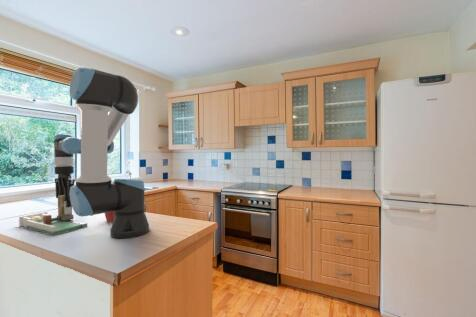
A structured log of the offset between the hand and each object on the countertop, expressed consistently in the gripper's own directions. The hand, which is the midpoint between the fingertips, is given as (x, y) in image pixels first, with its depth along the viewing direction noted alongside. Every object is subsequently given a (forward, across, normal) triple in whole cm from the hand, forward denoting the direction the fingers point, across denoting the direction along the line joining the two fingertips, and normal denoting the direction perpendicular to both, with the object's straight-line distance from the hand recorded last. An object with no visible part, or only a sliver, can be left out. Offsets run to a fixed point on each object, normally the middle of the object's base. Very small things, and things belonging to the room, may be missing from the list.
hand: (65, 213), depth 117 cm
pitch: (+5, -1, +7) cm, 9 cm away
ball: (+3, +10, +8) cm, 13 cm away
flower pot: (+5, -18, -14) cm, 23 cm away
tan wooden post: (+3, 0, +3) cm, 4 cm away
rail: (+5, -4, 0) cm, 6 cm away
